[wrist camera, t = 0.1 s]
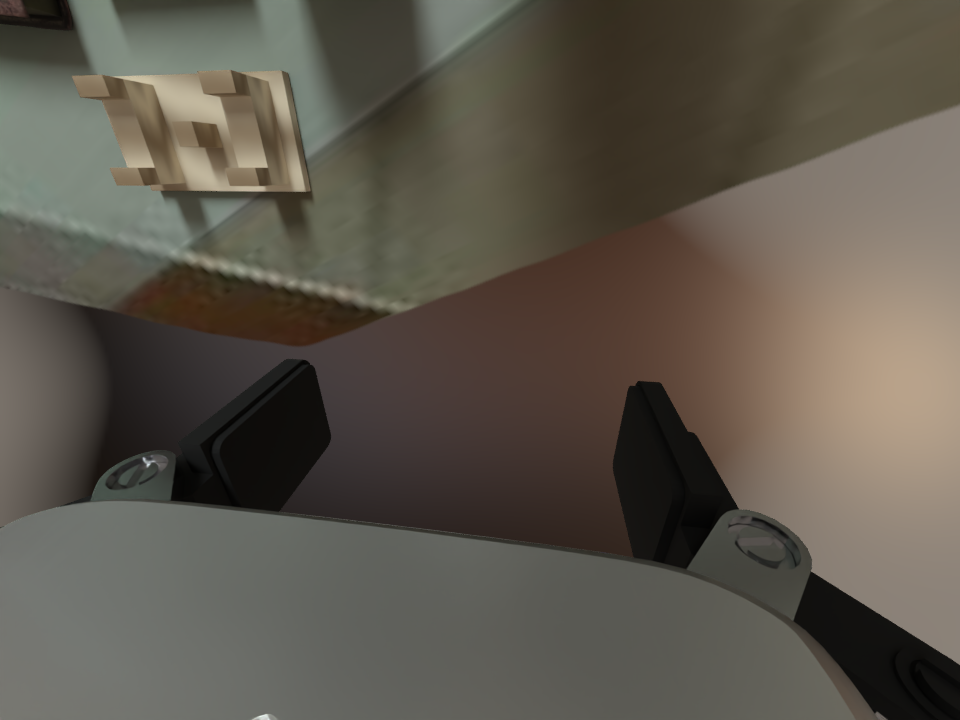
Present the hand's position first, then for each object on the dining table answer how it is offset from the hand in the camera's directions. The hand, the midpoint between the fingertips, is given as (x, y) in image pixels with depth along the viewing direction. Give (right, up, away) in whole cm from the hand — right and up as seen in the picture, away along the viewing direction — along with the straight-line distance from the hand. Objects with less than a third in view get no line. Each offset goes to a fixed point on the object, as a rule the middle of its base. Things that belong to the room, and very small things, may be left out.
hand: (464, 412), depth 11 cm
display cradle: (-26, +24, +27) cm, 45 cm away
